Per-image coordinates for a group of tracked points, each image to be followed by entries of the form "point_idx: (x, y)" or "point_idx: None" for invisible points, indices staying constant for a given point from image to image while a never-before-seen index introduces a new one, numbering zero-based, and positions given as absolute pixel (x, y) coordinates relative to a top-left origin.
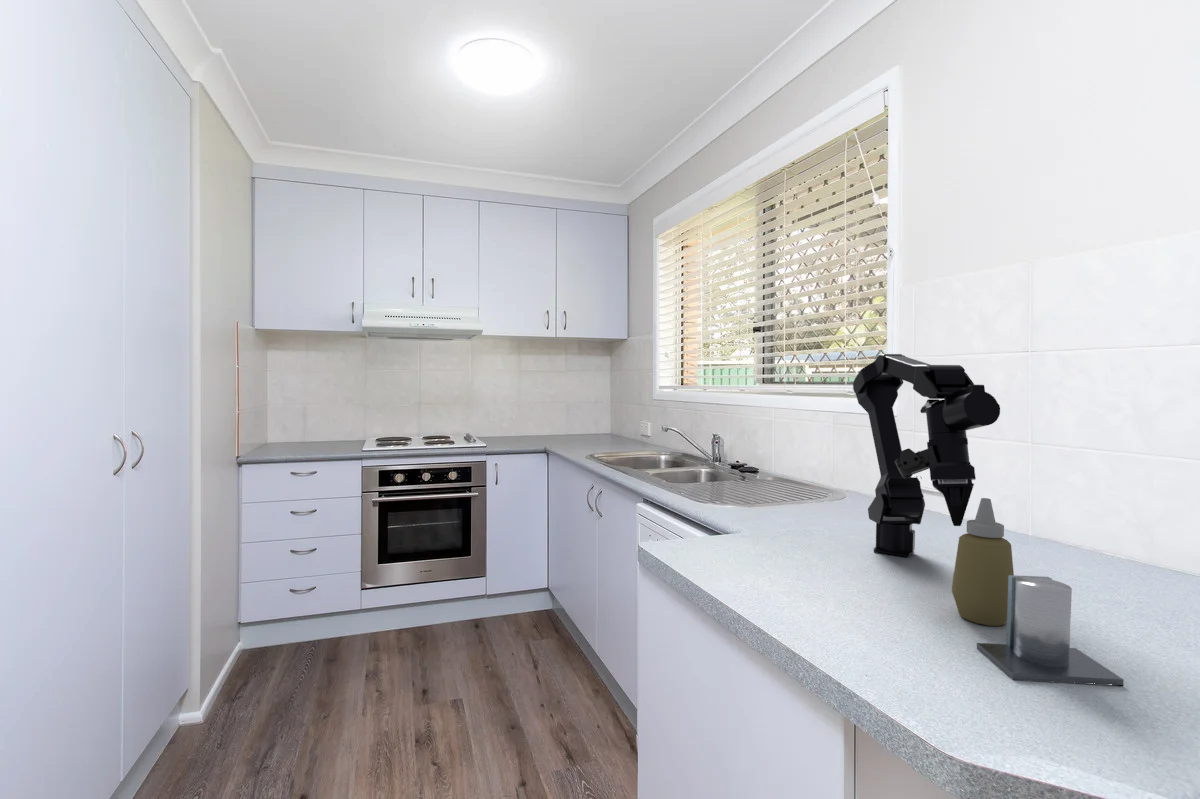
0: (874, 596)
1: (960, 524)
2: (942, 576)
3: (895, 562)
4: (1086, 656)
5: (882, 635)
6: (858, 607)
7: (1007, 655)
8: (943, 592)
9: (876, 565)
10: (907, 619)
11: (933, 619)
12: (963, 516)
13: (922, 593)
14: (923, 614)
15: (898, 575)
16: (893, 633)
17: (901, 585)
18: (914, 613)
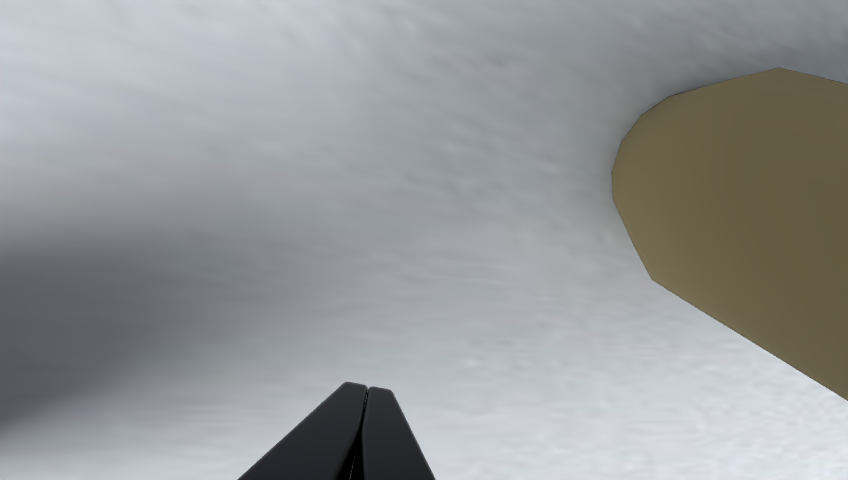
0: (539, 451)
1: (396, 400)
2: (159, 229)
3: (26, 406)
4: None
5: (812, 421)
6: (640, 477)
7: None
8: (417, 253)
9: (141, 467)
10: (709, 372)
11: (700, 310)
12: (418, 446)
13: (458, 324)
14: (665, 333)
15: (253, 394)
16: (800, 401)
17: (388, 385)
18: (661, 355)
